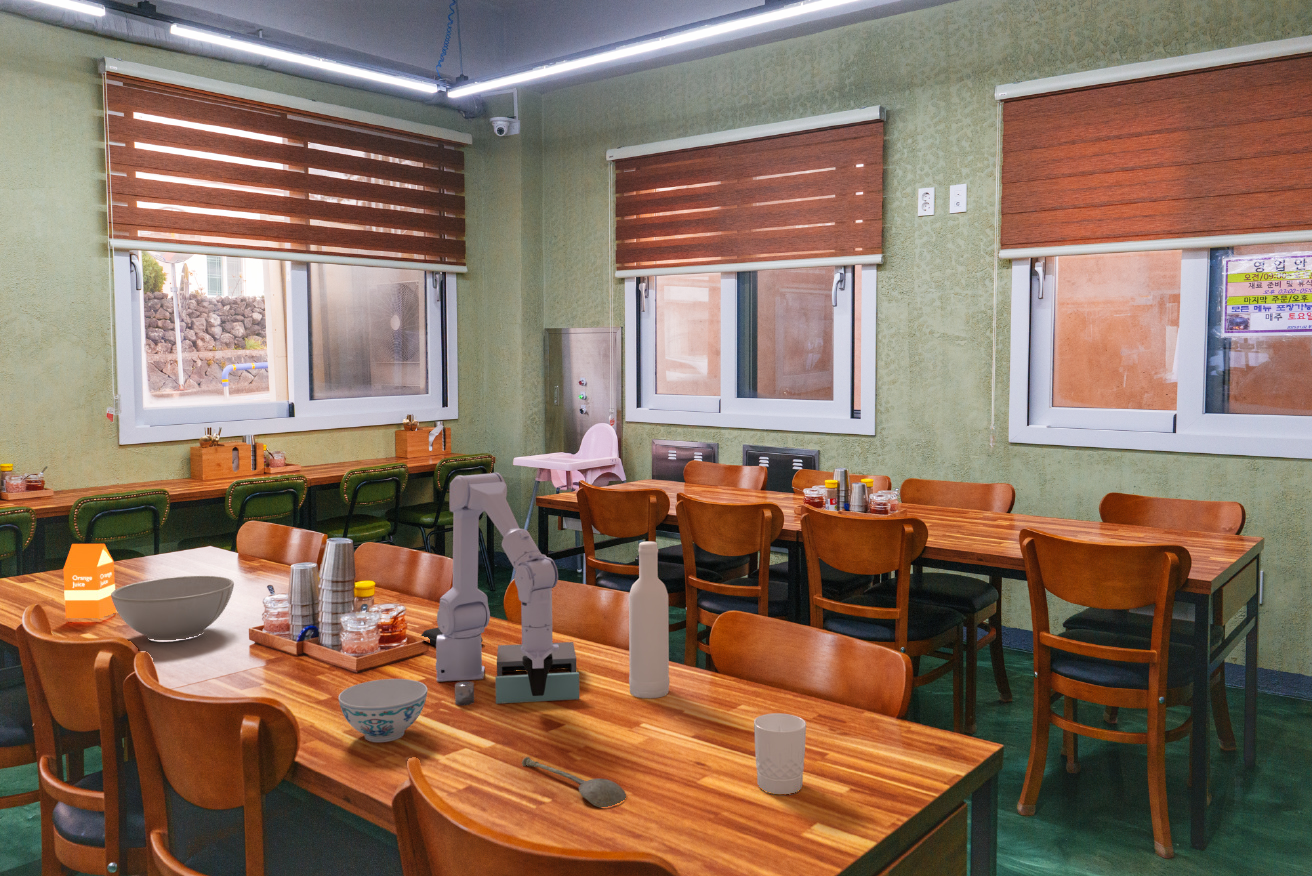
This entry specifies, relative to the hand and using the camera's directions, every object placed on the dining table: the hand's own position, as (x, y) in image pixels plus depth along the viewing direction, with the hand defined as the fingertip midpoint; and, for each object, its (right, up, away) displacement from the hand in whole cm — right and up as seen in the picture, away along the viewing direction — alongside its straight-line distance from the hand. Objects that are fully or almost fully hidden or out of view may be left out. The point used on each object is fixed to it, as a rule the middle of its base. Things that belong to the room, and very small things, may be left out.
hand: (538, 694), depth 180 cm
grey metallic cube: (-15, -3, +5) cm, 16 cm away
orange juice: (-126, +1, +71) cm, 144 cm away
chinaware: (-26, -4, -12) cm, 29 cm away
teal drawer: (-1, -2, +10) cm, 10 cm away
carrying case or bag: (-27, -1, +45) cm, 53 cm away
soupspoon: (+9, -6, -32) cm, 34 cm away
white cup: (+41, -5, -34) cm, 54 cm away
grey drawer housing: (-3, -2, +19) cm, 20 cm away
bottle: (+21, -2, +10) cm, 23 cm away
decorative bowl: (-95, 0, +54) cm, 109 cm away
